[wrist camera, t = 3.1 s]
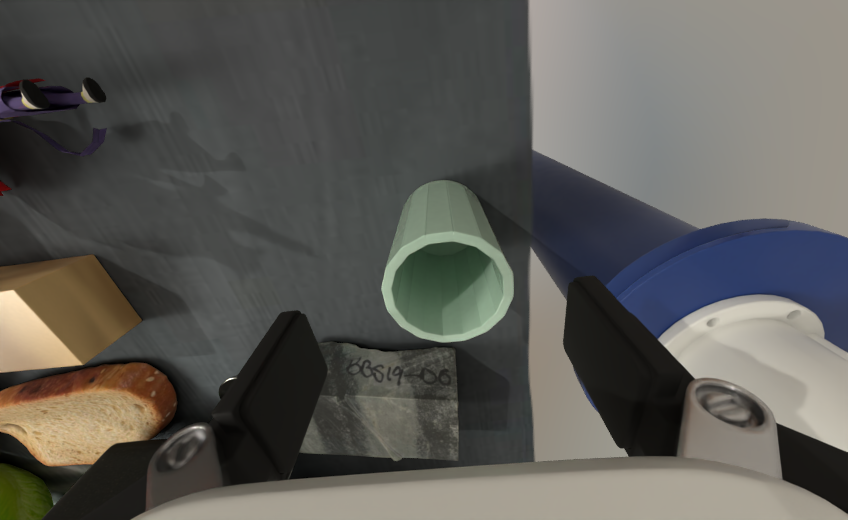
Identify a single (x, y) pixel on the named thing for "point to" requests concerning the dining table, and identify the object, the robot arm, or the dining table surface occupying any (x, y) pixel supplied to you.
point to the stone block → (386, 404)
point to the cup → (446, 266)
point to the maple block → (59, 313)
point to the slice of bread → (87, 411)
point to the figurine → (48, 107)
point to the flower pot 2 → (107, 479)
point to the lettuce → (22, 494)
